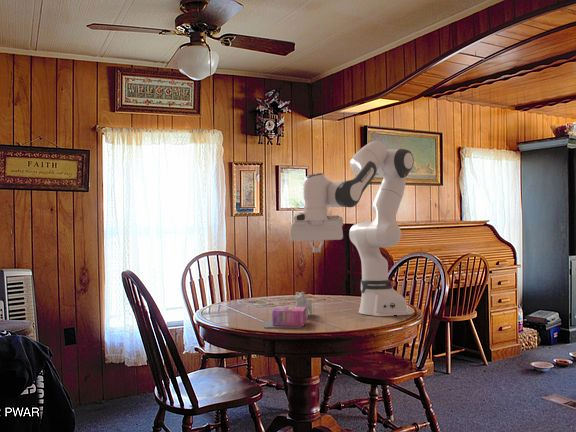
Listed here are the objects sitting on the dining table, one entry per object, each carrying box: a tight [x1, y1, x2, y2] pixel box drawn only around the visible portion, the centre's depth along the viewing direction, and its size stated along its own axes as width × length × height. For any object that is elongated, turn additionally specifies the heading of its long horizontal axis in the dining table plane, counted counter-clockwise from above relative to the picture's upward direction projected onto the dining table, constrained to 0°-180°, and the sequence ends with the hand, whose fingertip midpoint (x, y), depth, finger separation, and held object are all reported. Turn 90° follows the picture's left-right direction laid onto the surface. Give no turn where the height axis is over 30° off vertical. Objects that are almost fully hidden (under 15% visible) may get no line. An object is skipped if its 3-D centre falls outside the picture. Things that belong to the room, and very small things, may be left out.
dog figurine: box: [294, 291, 313, 318], centre depth 214 cm, size 5×13×11 cm, turn 162°
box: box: [271, 305, 308, 327], centre depth 197 cm, size 10×6×12 cm
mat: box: [264, 320, 303, 329], centre depth 196 cm, size 14×12×1 cm
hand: (316, 252), depth 196 cm, fingers closed
